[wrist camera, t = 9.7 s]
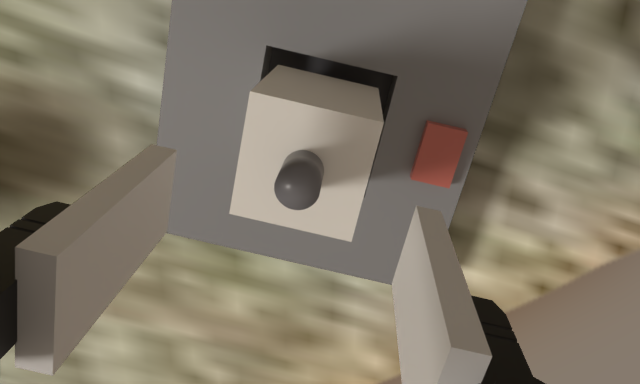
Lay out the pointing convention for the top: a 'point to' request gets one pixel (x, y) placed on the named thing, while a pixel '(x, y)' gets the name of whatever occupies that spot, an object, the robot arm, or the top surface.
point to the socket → (342, 63)
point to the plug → (307, 152)
